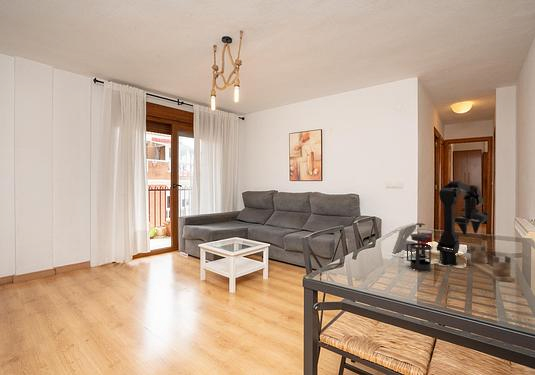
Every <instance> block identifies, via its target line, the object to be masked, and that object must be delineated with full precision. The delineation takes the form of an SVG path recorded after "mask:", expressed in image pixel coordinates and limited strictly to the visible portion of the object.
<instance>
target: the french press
mask: <svg viewBox="0 0 535 375" xmlns="http://www.w3.org/2000/svg"><path fill="white" fill-rule="evenodd" d="M415 224H416V225H417V226H418V227H419V230H420V234H418V233H412V234H411V235H410V236H409V237H411V241H413V242H415V243H412V244H409V243H408V244H407V245H406V246H407V257H406V261H407V262H410V266H409V268H410V267H411V268H412V269H411V268H410V269H411V270H413V269H415V270H414V271H416V270H418V271H417V272H422V271H428V272H431V271H432V264H431V263H432V262H431V260H432V254H431V253H432V249H431V246H430V245H428V244H424V243H421V242H424V241H426V240H427V239H429V238H430V237H431V236H430V235H426V234H421V230H422V226H425V223H423V222H417V223H415ZM418 241H420V243H418ZM408 245H410V247H411V255H410V259H409V256H408ZM418 246H420V247H418ZM425 246H426V247H425ZM412 248H413V249H416V253H414V254H412ZM426 251H428V254H426ZM428 260H429V261H428ZM430 270H431V271H430Z"/></svg>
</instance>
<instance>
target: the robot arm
mask: <svg viewBox="0 0 535 375" xmlns="http://www.w3.org/2000/svg"><path fill="white" fill-rule="evenodd" d="M461 194H462V195H463V198H462V199H463V202H464V204H463V206H464V208H462V211H463V213H464V214H463V215H461V216H457V217H455V216H456V215H455V210H456V209H455V205H456V204H457V202H458V201H459V197H460V195H461ZM438 196H439V200H440V201H441V203H442V205H443V232H442V234H441V235H440V237H439V241H438V243H437V245H436V251H437V252H439V260H440V261H441V263H440V264H442V265H443V266H457V265H458V264H457V256H456V255H455V254H456V253H458V251H460V246H461V245H460V236H459V234H457V233H456V231H455V223H456V224H457V226H458V227H459V229H460V230H461V232H462V234H463V235H464V236H465V235H466V236H467V230H468V226H469V225H470V223H471V227H472V229H473V233H474V234H477V233H478V232H479V228H480V226H481V224H483V223H485V222H487V221H488V219H490V214H489V212H487V211H484V212H480V210H479V208H477V207H478V206H481V205H483V204H484V199H483V197H482V194H481V190H480V188H479V186H478V185H469V184H467V183H464V182H462V181H461V180H451V181H449V182H448V183H447V184H446V185H443V186H442V187H441V188H440V190H439V192H438ZM447 248H449V249H447ZM452 249H453V250H452Z"/></svg>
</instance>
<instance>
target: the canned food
mask: <svg viewBox="0 0 535 375" xmlns="http://www.w3.org/2000/svg"><path fill="white" fill-rule="evenodd" d="M417 234H420V229H419V230H417ZM421 234H426V235H430V236H431V237H430V238H429V239H427V240H426V241H424V242H421V243H424V244H426V243H428V242H432V243H433V231H431V230H428V229H427V230H425V229H423V230H422V229H421ZM417 243H420V241H417ZM417 247H420V246H417Z"/></svg>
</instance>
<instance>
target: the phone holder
mask: <svg viewBox="0 0 535 375" xmlns="http://www.w3.org/2000/svg"><path fill="white" fill-rule="evenodd" d="M417 226H418V225H416V223H414V222H413V223H410V224H405V225H403V226H401V228H400V231H399V233H398V236H397V239H396V242H395V243H394V246H393V249H392V251H393V252H392V251H391V252H392V253H393V254H396V253H399V252H401V251H402V250H405V251H407V246H406V245H407V244H408V243H409V244H412V243H416V241H413V240H408V238H409V237H411V236H410V235H411V234H414V232H415V230H416V228H417ZM408 251H410V252H411V247H410V245H408ZM415 251H416V249H413V248H412V252H415Z"/></svg>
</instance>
